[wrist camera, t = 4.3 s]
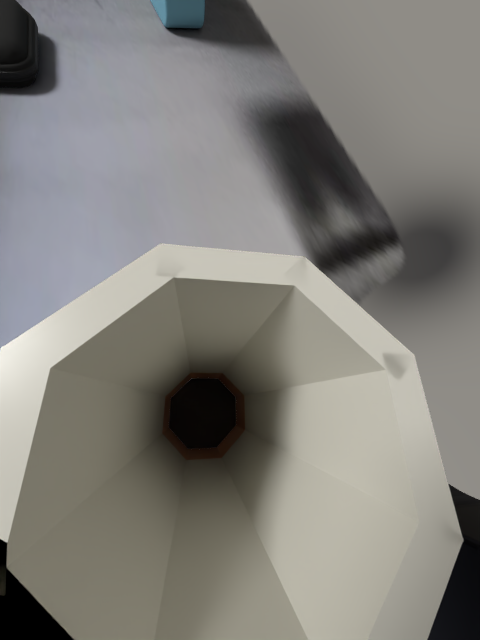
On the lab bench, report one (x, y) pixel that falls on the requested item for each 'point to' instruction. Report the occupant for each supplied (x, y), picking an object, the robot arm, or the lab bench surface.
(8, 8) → the carrying case or bag
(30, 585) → the sleeve
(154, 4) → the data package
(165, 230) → the lab bench surface
